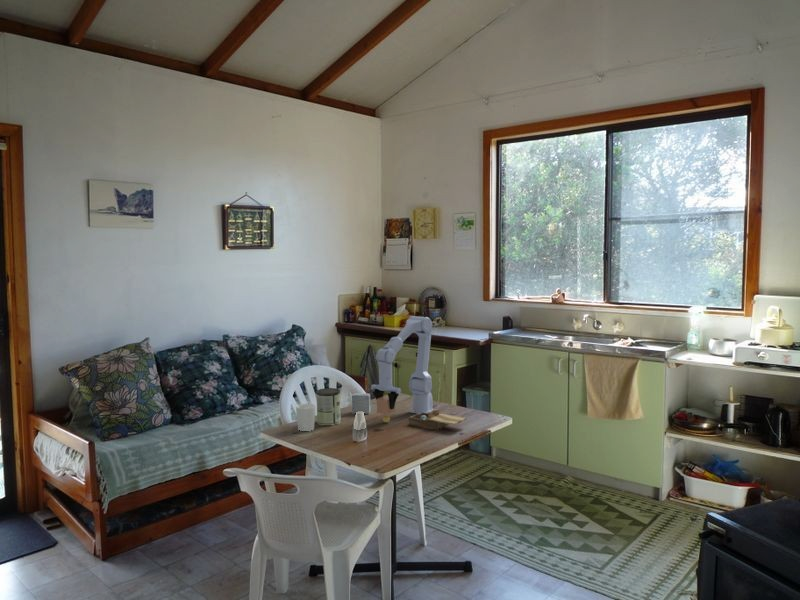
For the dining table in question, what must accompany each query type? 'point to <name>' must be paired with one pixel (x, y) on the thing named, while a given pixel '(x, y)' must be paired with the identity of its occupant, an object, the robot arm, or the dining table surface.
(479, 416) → the dining table surface
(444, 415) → the lid
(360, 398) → the medicine box
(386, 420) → the mustard ball
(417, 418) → the walnut box
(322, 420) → the coffee can
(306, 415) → the white cup
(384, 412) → the tan cardboard cube
